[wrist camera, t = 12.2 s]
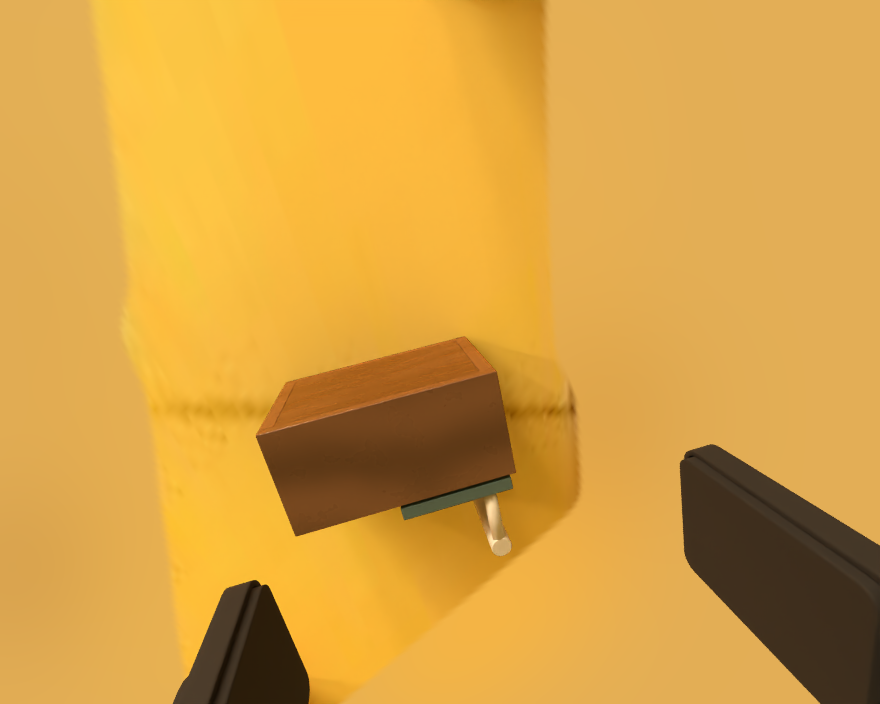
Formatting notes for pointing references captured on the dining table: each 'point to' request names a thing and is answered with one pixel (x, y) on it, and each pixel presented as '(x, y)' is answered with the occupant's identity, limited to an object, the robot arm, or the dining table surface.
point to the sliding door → (484, 505)
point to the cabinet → (385, 434)
